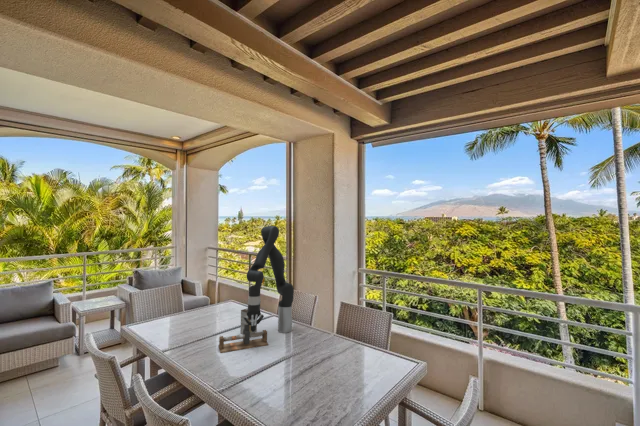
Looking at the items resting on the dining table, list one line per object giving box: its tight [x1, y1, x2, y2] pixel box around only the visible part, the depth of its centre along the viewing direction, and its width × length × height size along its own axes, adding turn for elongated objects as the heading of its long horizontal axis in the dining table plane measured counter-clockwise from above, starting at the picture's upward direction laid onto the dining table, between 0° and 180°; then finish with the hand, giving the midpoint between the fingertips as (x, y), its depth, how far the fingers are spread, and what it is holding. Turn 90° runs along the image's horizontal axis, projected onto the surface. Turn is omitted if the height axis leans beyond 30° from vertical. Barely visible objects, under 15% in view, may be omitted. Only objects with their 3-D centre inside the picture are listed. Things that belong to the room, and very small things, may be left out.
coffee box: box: [239, 307, 258, 335], centre depth 192 cm, size 9×6×16 cm
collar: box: [242, 325, 251, 345], centre depth 173 cm, size 2×7×10 cm, turn 26°
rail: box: [217, 329, 269, 354], centre depth 172 cm, size 28×10×7 cm, turn 116°
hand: (253, 331), depth 175 cm, fingers closed
